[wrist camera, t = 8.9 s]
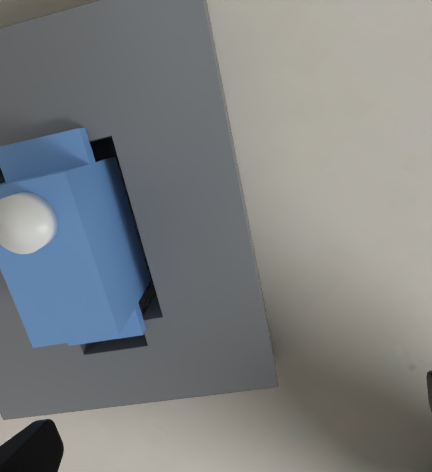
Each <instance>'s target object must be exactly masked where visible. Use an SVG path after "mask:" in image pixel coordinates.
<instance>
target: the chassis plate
mask: <svg viewBox="0 0 432 472" xmlns="http://www.w3.org/2000/svg"><path fill="white" fill-rule="evenodd" d="M78 128H85V129H86V132H87V135H88V139H89V142H93V141H98V140H102V139H106V138H111V137H112V139H113V142H114V146H115V149H116V153H117V156H118V160H119V163H120V167H121V170H122V174H123V177H124V181H125V185H126V188H127V192H128V195H129V199H130V202H131V206H132V209H133V213H134V216H135V220H136V223H137V227H138V230H139V234H140V238H141V241H142V245H143V248H144V252H145V255H146V259H147V262H148V266H149V269H150V273H151V276H152V280H153V283H154V287H155V290H156V294H157V298H153V299H151V301H150V303H149V305H148V307H147V309H146V311H145V313H144V315H143V319H144V323H145V326H146V330H145V332H144V334H143V335H140V336H134V337H127V338H120V339H113V340H106V341H99V342H93V343H86V344H79V345H72V346H68V344H67V343H64V344H57V345H50V346H43V347H37V348H33V347H32V344H31V342H30V339H29V337H28V335H27V332H26V330H25V327H24V325H23V323H22V320H21V318H20V315H19V313H18V310H17V308H16V306H15V303H14V301H13V298H12V296H11V294H10V291H9V289H8V286H7V284H6V281H5V279H4V277H3V274H2V272H1V269H0V414H1V416H2V418H3V420H7V419H15V418H24V417H32V416H40V415H49V414H57V413H65V412H74V411H82V410H90V409H99V408H107V407H115V406H124V405H132V404H141V403H149V402H157V401H166V400H174V399H182V398H191V397H199V396H207V395H216V394H224V393H232V392H241V391H249V390H257V389H266V388H274V387H278V381H277V373H276V365H275V357H274V352H273V347H272V342H271V336H270V331H269V326H268V321H267V316H266V310H265V305H264V300H263V295H262V289H261V284H260V279H259V274H258V269H257V263H256V258H255V253H254V248H253V243H252V237H251V232H250V227H249V222H248V216H247V211H246V206H245V201H244V196H243V190H242V185H241V180H240V175H239V169H238V164H237V159H236V154H235V149H234V143H233V138H232V133H231V128H230V122H229V117H228V112H227V107H226V102H225V96H224V91H223V86H222V81H221V76H220V70H219V65H218V60H217V55H216V49H215V44H214V39H213V34H212V29H211V23H210V18H209V13H208V8H207V2H206V0H99V1H96V2H92V3H88V4H85V5H81V6H78V7H74V8H71V9H67V10H63V11H60V12H56V13H53V14H49V15H46V16H42V17H38V18H35V19H31V20H28V21H24V22H20V23H17V24H13V25H10V26H6V27H3V28H0V146H5V145H9V144H13V143H17V142H22V141H26V140H30V139H35V138H39V137H43V136H48V135H52V134H56V133H60V132H65V131H69V130H73V129H78ZM5 182H6V181H5V178H4V176H3V173H2V170H1V168H0V184H2V183H5Z"/></svg>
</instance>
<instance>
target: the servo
mask: <svg viewBox="0 0 432 472" xmlns="http://www.w3.org/2000/svg"><path fill="white" fill-rule="evenodd" d="M0 168H1V170H2V173H3V176H4V178H5V181H6V182H5V183H2V184H0V269H1V272H2V274H3V277H4V279H5V281H6V284H7V286H8V289H9V291H10V294H11V296H12V298H13V301H14V303H15V306H16V308H17V310H18V313H19V315H20V318H21V320H22V323H23V325H24V327H25V330H26V332H27V335H28V337H29V339H30V342H31V344H32V347H33V348H37V347H43V346H50V345H57V344H64V343H67V344H68V346H72V345H79V344H86V343H93V342H99V341H106V340H113V339H120V338H127V337H134V336H140V335H143V334H144V332H145V330H146V326H145V323H144V319H143V316H142V313H141V310H140V306H139V303H138V302H139V300H140V299H141V297H142V295H143V293H144V292H145V290H146V288H147V287H148V285H149V283H150V281H151V280H150V276H149V273H148V269H147V266H146V262H145V259H144V255H143V252H142V249H141V245H140V242H139V238H138V235H137V231H136V228H135V224H134V221H133V217H132V214H131V210H130V207H129V203H128V200H127V196H126V193H125V189H124V186H123V182H122V179H121V175H120V172H119V168H118V165H117V161H116V158H115V157H111V158H106V159H101V160H97V161H95V158H94V155H93V152H92V149H91V145H90V142H89V139H88V135H87V132H86V129H85V128H78V129H73V130H69V131H65V132H60V133H56V134H52V135H48V136H43V137H39V138H35V139H30V140H26V141H22V142H17V143H13V144H9V145H5V146H0Z"/></svg>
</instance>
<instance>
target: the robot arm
mask: <svg viewBox="0 0 432 472" xmlns="http://www.w3.org/2000/svg"><path fill="white" fill-rule="evenodd" d="M427 387H428V398H429V405H430V409H431V412H432V370H431V371H429V372H428V373H427ZM63 451H64V447H63V442H62V440H61V437H60V435H59V433H58V430H57V428H56V426H55V423H54V422H53V421H52V420H50V419H45V420H38V421H35V422H33V423H31V424H30V425H29V426H27V427H26V428H25V429H23V430H22V431H20V432H19V433H18V434H16V435H15V436H14V437H12V438H11V439H9V440H8V441H7V442H5V443H4V444H3V445H1V446H0V472H58V469H59V466H60V463H61V459H62V456H63Z"/></svg>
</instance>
